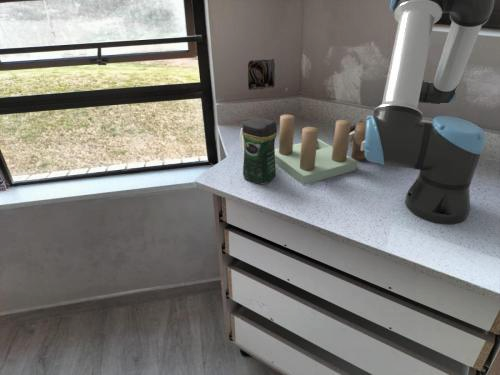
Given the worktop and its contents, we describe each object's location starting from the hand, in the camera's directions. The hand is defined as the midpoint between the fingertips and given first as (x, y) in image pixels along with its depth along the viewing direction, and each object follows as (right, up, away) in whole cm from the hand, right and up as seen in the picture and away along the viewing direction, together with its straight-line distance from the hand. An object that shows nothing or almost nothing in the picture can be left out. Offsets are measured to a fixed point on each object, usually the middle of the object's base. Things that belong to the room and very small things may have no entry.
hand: (352, 143), depth 115 cm
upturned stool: (-13, -6, +4) cm, 14 cm away
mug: (-32, -6, +5) cm, 33 cm away
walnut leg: (+3, -4, +7) cm, 9 cm away
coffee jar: (-29, -11, -4) cm, 32 cm away
